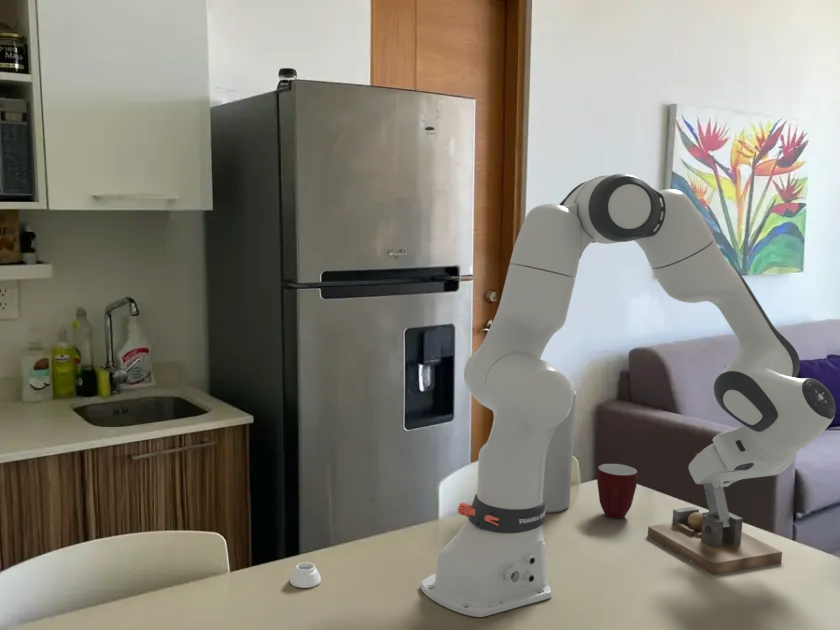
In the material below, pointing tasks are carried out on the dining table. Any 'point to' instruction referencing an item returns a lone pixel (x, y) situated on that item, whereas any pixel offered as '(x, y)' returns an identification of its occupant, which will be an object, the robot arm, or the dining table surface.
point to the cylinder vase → (559, 465)
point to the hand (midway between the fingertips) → (718, 483)
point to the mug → (616, 488)
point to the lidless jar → (305, 576)
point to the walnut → (695, 521)
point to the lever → (716, 503)
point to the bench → (712, 555)
